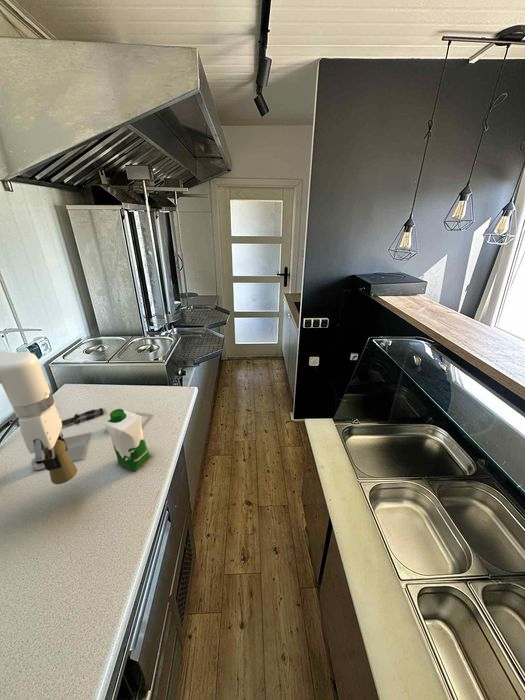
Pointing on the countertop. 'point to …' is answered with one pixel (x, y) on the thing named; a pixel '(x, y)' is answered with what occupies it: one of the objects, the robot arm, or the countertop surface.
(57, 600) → the countertop surface
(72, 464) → the cork
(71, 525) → the countertop surface
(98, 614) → the countertop surface
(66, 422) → the knife
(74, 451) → the scale
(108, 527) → the countertop surface
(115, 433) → the milk carton
